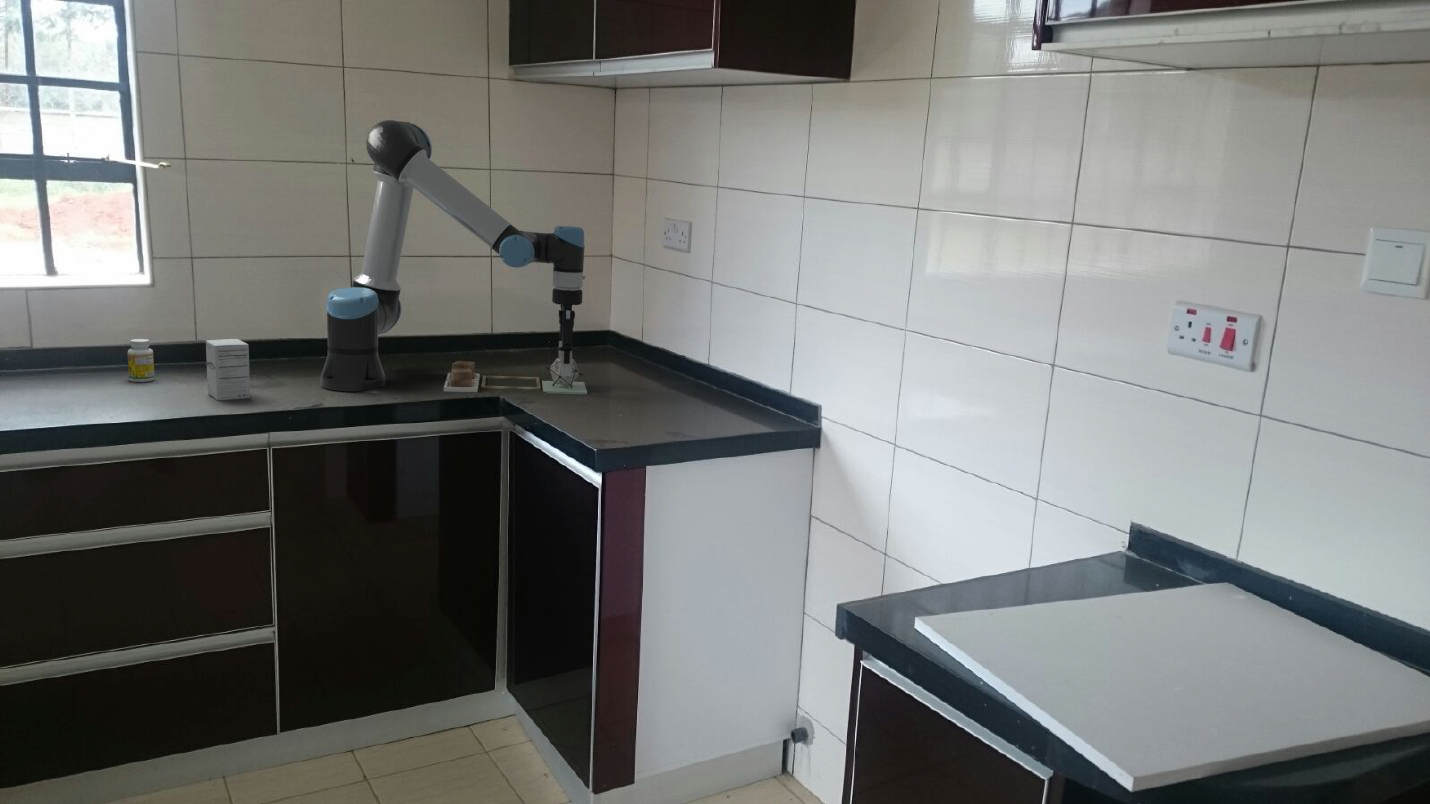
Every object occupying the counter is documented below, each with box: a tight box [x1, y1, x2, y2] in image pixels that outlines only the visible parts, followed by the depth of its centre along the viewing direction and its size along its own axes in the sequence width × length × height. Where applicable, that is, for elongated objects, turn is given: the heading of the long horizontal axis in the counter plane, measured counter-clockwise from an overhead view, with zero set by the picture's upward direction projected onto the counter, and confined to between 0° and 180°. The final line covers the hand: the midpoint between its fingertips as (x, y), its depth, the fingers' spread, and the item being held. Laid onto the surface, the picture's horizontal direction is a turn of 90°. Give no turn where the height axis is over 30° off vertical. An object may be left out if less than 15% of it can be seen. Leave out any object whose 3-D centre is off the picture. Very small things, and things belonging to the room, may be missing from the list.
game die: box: [545, 353, 584, 388], centre depth 273 cm, size 9×8×10 cm
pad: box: [541, 380, 588, 396], centre depth 274 cm, size 11×13×1 cm
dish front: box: [443, 380, 480, 393], centre depth 264 cm, size 8×8×2 cm
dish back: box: [445, 372, 481, 383], centre depth 273 cm, size 8×8×2 cm
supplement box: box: [205, 338, 251, 401], centre depth 241 cm, size 7×7×13 cm
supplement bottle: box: [127, 338, 155, 383], centre depth 251 cm, size 5×5×10 cm
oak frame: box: [480, 375, 542, 391], centre depth 273 cm, size 15×14×1 cm
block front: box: [450, 368, 472, 387], centre depth 263 cm, size 4×4×4 cm
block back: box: [451, 360, 476, 379], centre depth 273 cm, size 4×4×4 cm
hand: (564, 371), depth 273 cm, fingers open, 13 cm apart
